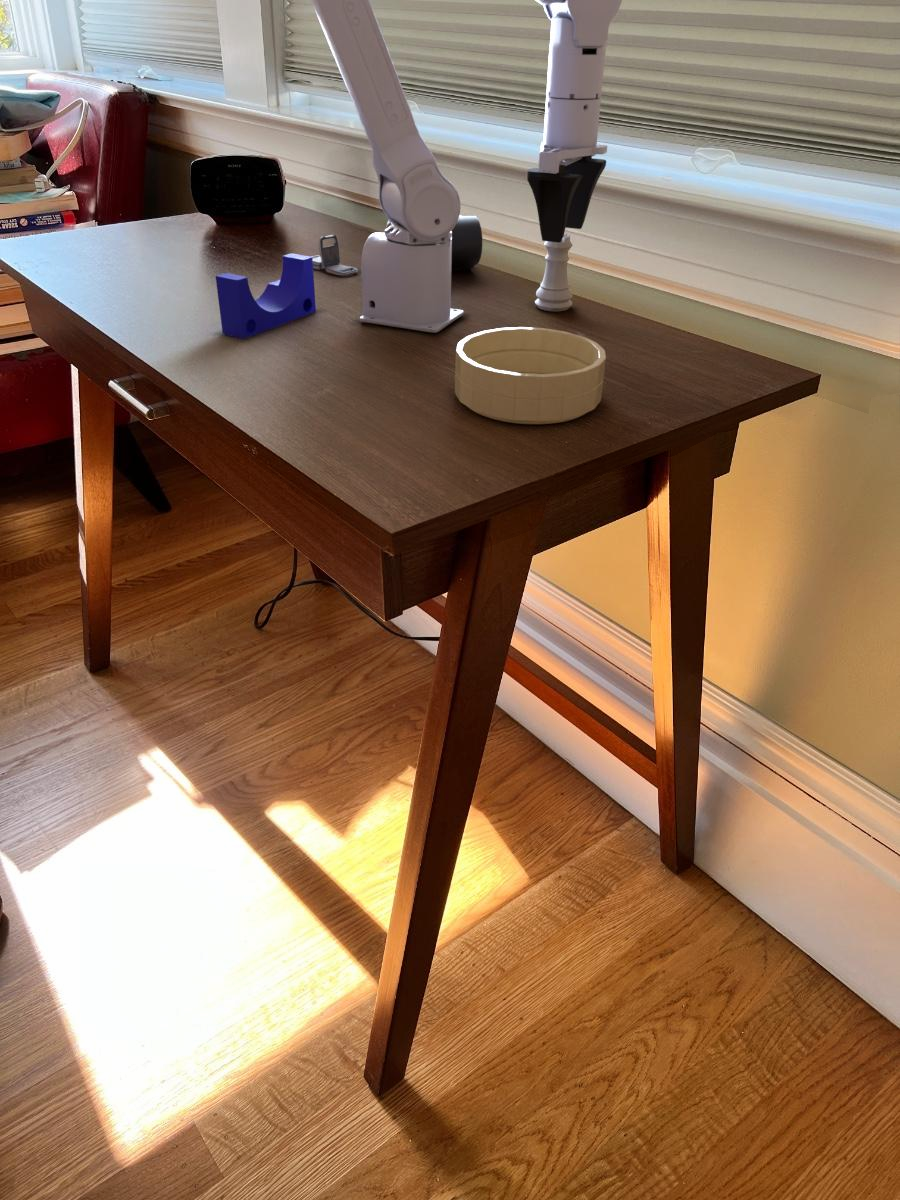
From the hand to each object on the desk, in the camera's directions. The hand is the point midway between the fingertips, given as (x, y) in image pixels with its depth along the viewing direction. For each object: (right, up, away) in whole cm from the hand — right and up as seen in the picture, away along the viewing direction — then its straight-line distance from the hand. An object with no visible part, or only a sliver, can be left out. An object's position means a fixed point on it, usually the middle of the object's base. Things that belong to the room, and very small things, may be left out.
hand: (562, 234), depth 102 cm
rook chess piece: (0, -7, +5) cm, 8 cm away
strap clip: (-29, +2, +18) cm, 34 cm away
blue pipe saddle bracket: (-33, -10, -1) cm, 35 cm away
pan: (-6, -23, -19) cm, 30 cm away
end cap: (-14, +2, +18) cm, 23 cm away
